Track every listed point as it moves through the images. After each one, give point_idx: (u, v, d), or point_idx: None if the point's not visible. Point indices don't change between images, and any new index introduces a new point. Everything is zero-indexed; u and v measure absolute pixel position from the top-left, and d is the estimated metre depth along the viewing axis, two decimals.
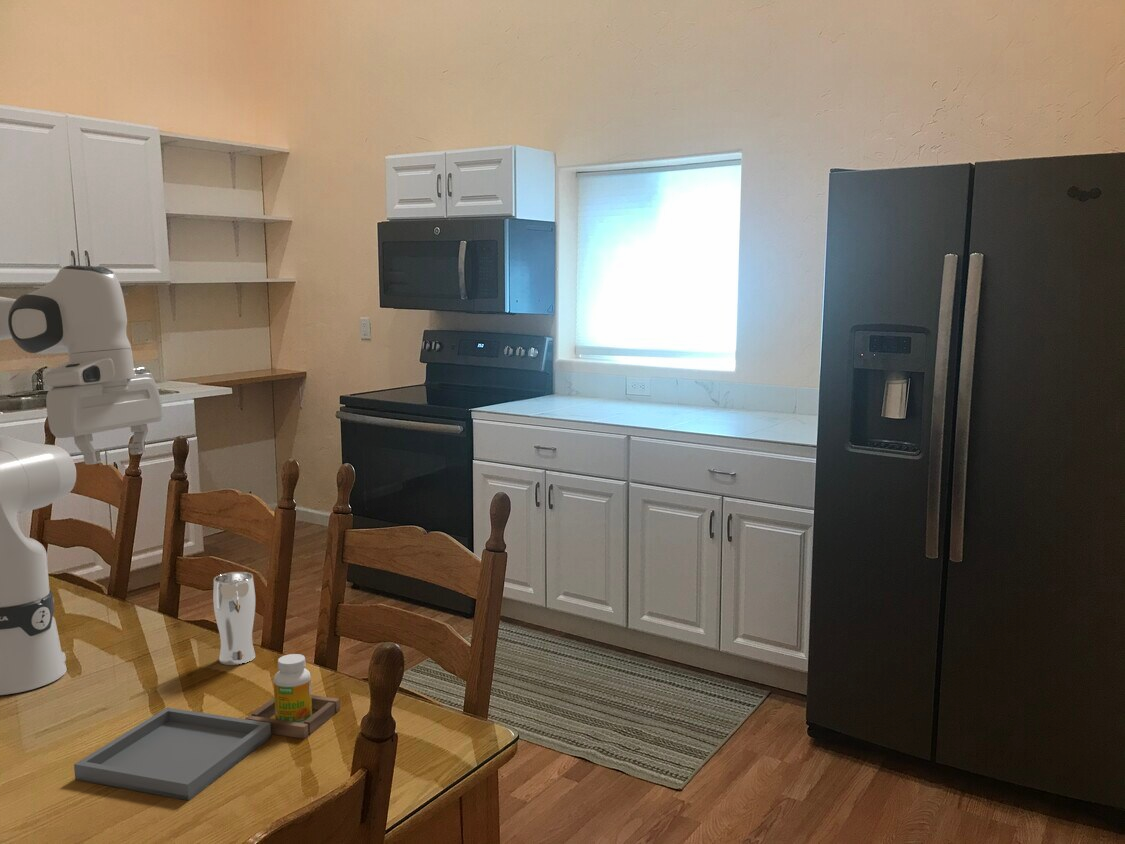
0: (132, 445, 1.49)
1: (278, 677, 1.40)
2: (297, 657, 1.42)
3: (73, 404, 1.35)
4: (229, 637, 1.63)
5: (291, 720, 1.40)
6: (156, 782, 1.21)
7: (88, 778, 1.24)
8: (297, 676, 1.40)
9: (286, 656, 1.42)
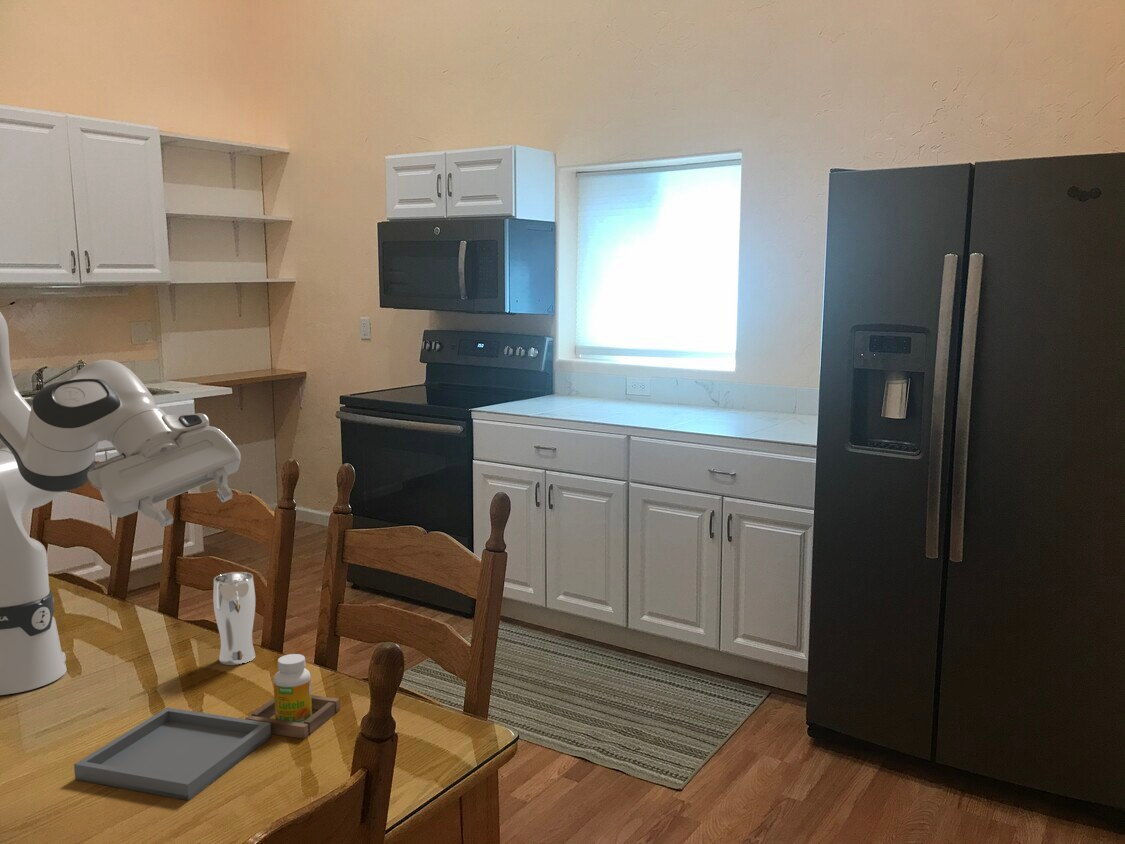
0: None
1: (278, 677, 1.40)
2: (297, 657, 1.42)
3: None
4: (229, 637, 1.63)
5: (291, 720, 1.40)
6: (156, 782, 1.21)
7: (88, 778, 1.24)
8: (297, 676, 1.40)
9: (286, 656, 1.42)
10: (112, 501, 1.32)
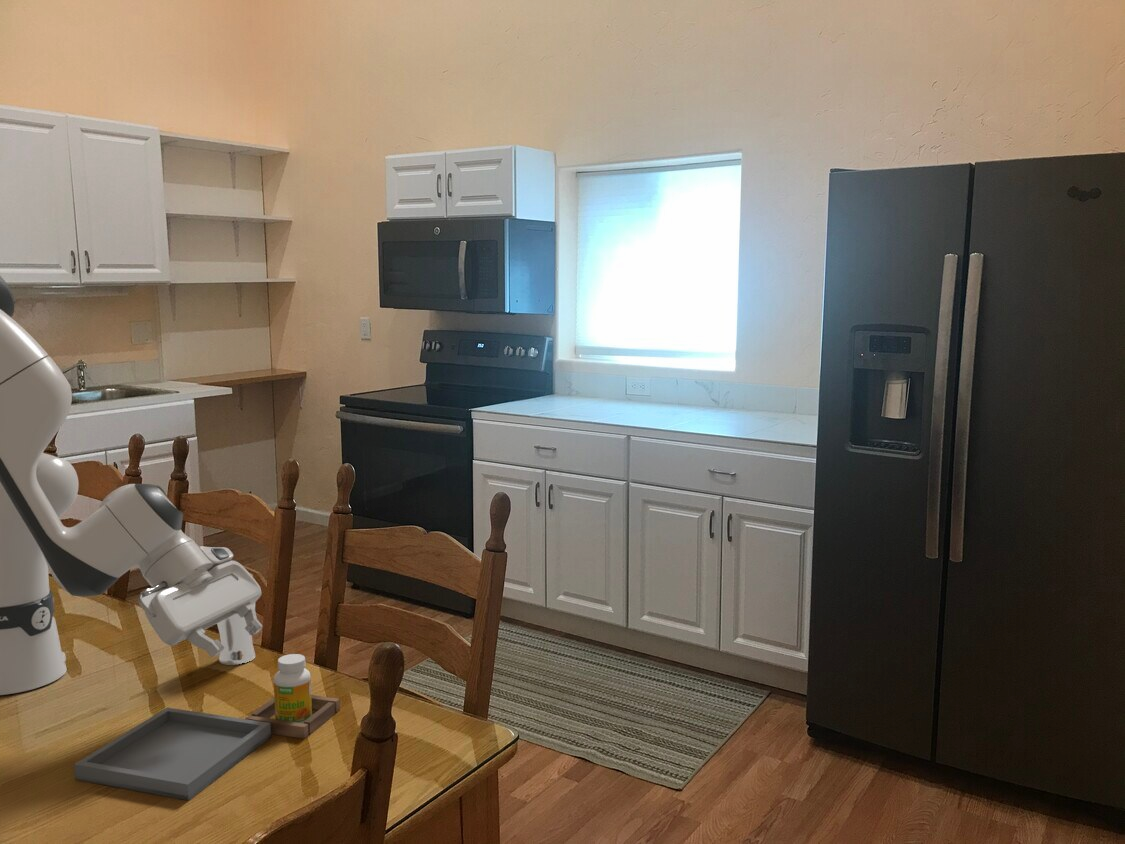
0: None
1: (278, 677, 1.40)
2: (297, 657, 1.42)
3: None
4: (229, 637, 1.63)
5: (291, 720, 1.40)
6: (156, 782, 1.21)
7: (88, 778, 1.24)
8: (297, 676, 1.40)
9: (286, 656, 1.42)
10: (175, 629, 1.34)
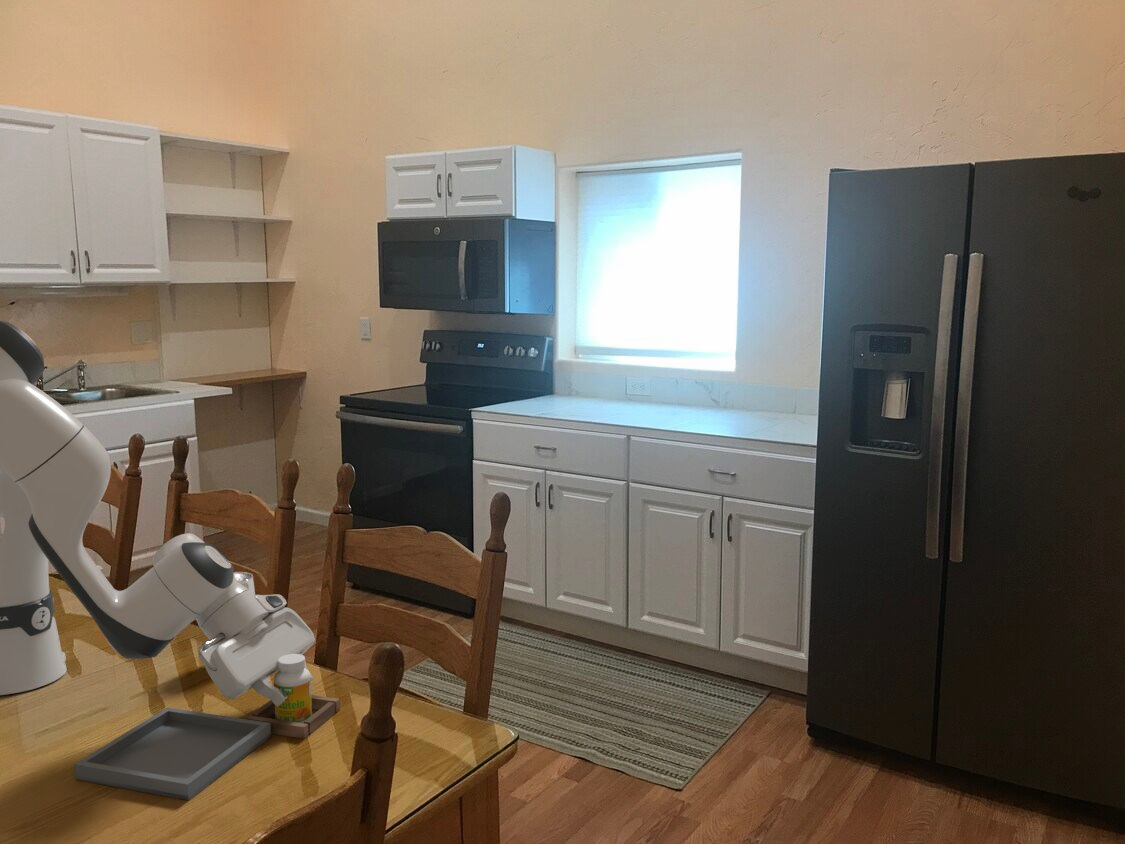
0: None
1: (278, 677, 1.40)
2: (297, 657, 1.42)
3: None
4: None
5: (291, 720, 1.40)
6: (156, 782, 1.21)
7: (88, 778, 1.24)
8: (297, 676, 1.40)
9: (286, 656, 1.42)
10: (237, 684, 1.33)
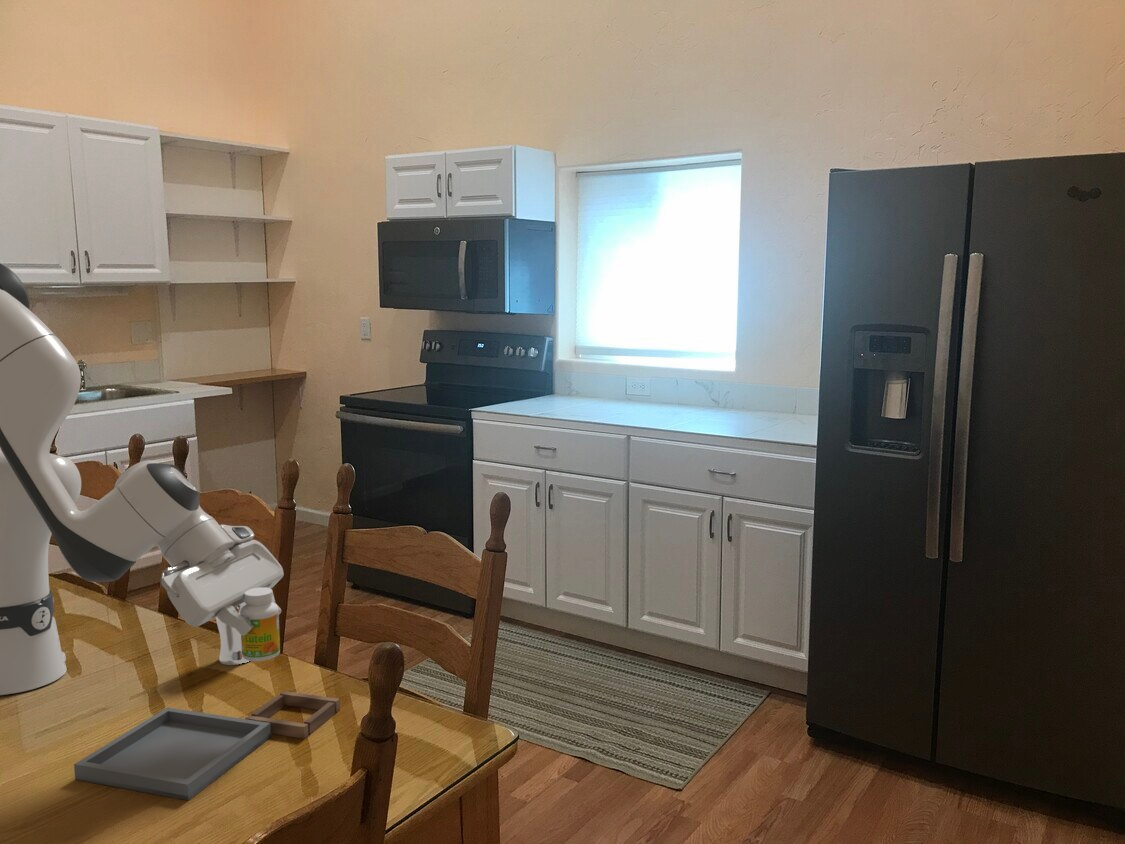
0: None
1: (244, 610, 1.36)
2: (264, 590, 1.37)
3: None
4: (229, 637, 1.63)
5: (258, 654, 1.35)
6: (156, 782, 1.21)
7: (88, 778, 1.24)
8: (264, 609, 1.36)
9: (253, 589, 1.38)
10: (200, 609, 1.28)
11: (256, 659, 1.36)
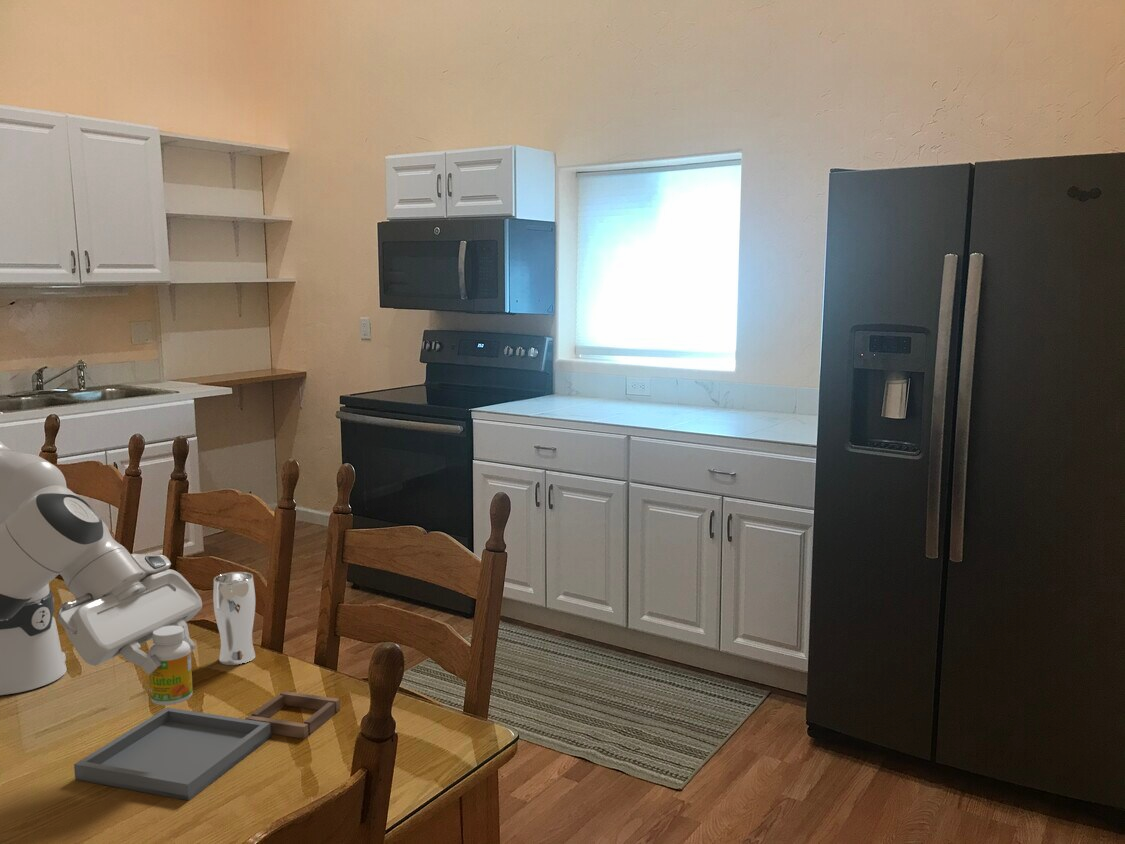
0: None
1: (152, 650, 1.27)
2: (174, 629, 1.29)
3: None
4: (229, 637, 1.63)
5: (166, 698, 1.27)
6: (156, 782, 1.21)
7: (88, 778, 1.24)
8: (173, 649, 1.27)
9: (163, 627, 1.29)
10: (98, 647, 1.19)
11: (164, 703, 1.27)
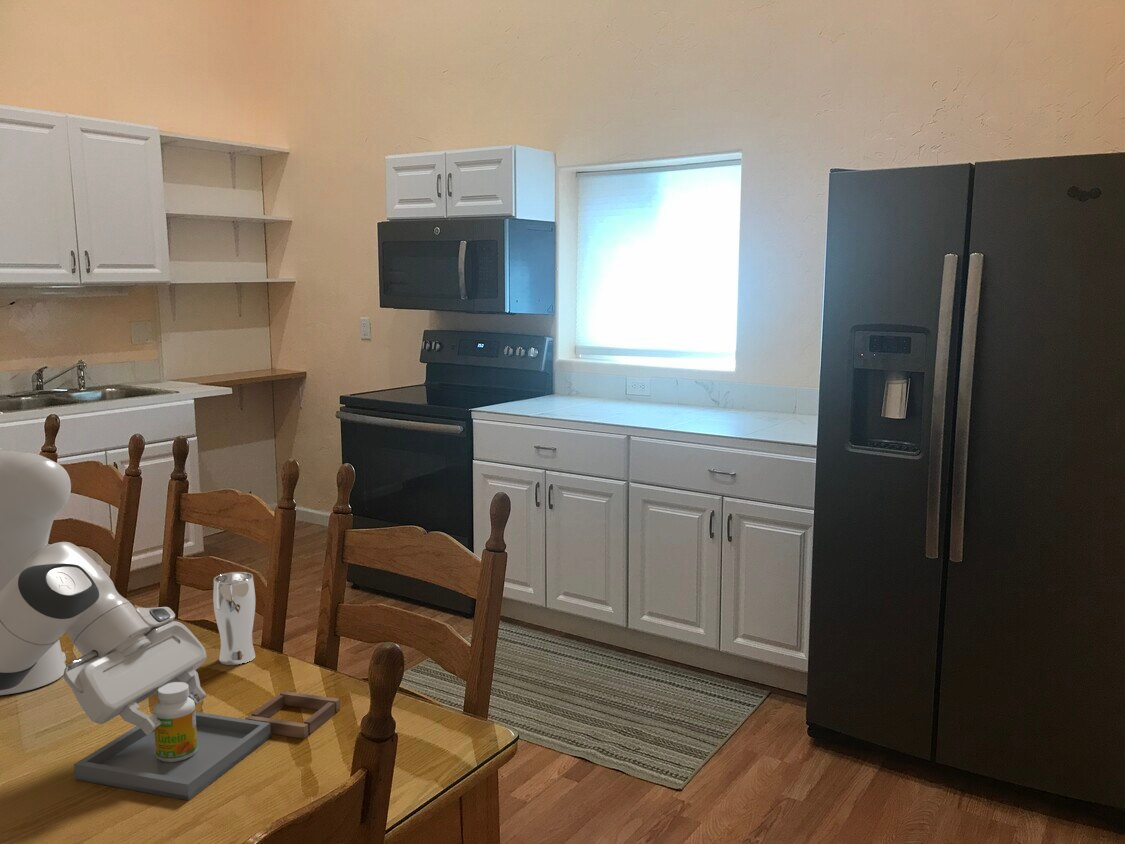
0: None
1: (157, 708, 1.28)
2: (179, 686, 1.30)
3: None
4: (229, 637, 1.63)
5: (171, 755, 1.28)
6: (156, 782, 1.21)
7: (88, 778, 1.24)
8: (178, 707, 1.28)
9: (168, 684, 1.30)
10: (104, 707, 1.21)
11: (169, 760, 1.28)
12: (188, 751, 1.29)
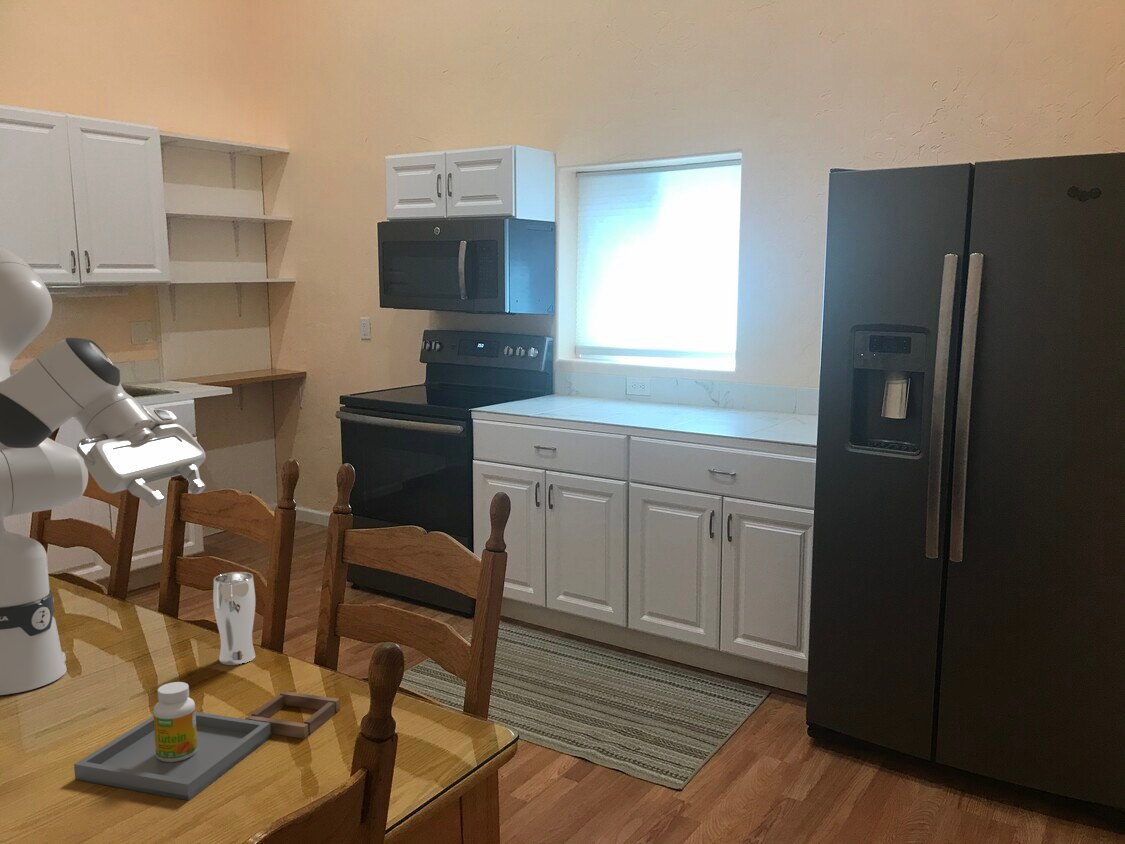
0: None
1: (157, 708, 1.28)
2: (179, 686, 1.30)
3: None
4: (229, 637, 1.63)
5: (171, 755, 1.28)
6: (156, 782, 1.21)
7: (88, 778, 1.24)
8: (178, 707, 1.28)
9: (168, 684, 1.30)
10: (114, 475, 1.34)
11: (169, 760, 1.28)
12: (188, 751, 1.29)
